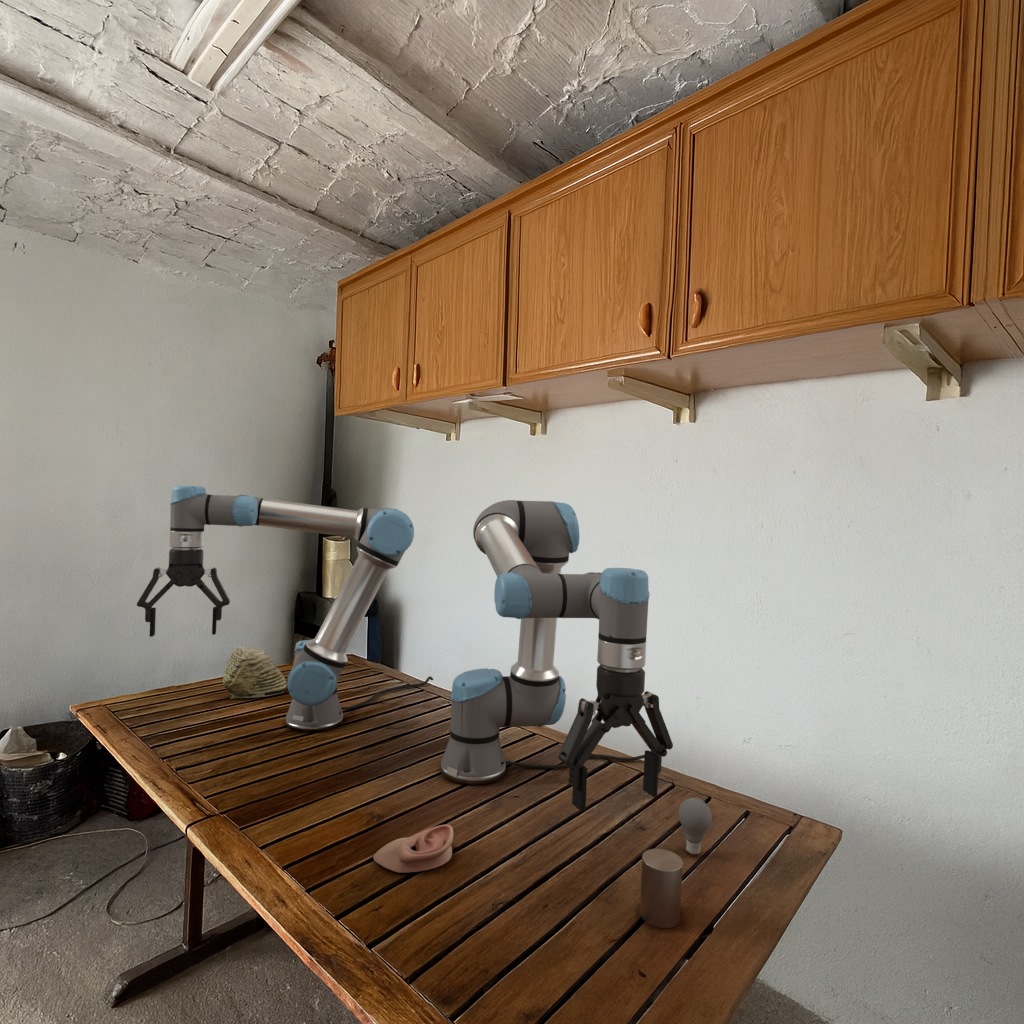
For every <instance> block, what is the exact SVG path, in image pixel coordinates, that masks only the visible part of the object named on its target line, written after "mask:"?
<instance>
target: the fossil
mask: <svg viewBox="0 0 1024 1024" xmlns="http://www.w3.org/2000/svg"><path fill="white" fill-rule="evenodd" d="M222 676H223V677H222V685H223V687H224V688H225V690H226V691H228V693H229V698H230V699H250V698H264V697H271V696H275V695H281V694H284V693H285V691H286V689H287V688H288V686H287V680H286V678H285V676H284V674H283V673H282V672H281V669H279V668H278V667H277V665H276V663H275V662H274V660H273V659H272V658H271V657H270V656H269V655H268V654H267V653H266V652H265V650H264V649H263V648H260V647H258V648H251V647H247V646H246V647H245V646H238V647H237V648H236V649H235V650H233V651H232V653H231V656H230V657H229V659H228V660H227V663H226V666H225V668H224V671H223V675H222Z"/></svg>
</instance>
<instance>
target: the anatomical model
mask: <svg viewBox="0 0 1024 1024" xmlns="http://www.w3.org/2000/svg"><path fill="white" fill-rule="evenodd" d="M454 834H455V833H454V829H453V826H452V825H450V824H441V825H437V826H433V827H430V828H427V829H425V830H422V831H420V832H418V833H416V834H414V835H411V836H409V837H399V838H397V839H393V840H392V841H390V842H388V843H387V844H385V845H383V846H382V847H381V848H379V850H377V851H376V852H375V853H374V855H373V856H372V857H373V861H374V862H375V863H377V864H378V865H380V866H381V867H383V868H384V869H386V870H389V871H392V872H395V873H398V874H399V873H401V874H405V873H406V874H407V873H408V874H409V873H417V872H423V871H429V870H432V869H436V868H439V867H441V866H443V865H444V864H447V863H448V862H449V861H450V860H451V859H452V855H453V846H452V844H453V842H454V836H455V835H454Z"/></svg>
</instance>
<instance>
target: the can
mask: <svg viewBox="0 0 1024 1024" xmlns="http://www.w3.org/2000/svg"><path fill="white" fill-rule="evenodd" d="M683 865H684V862H683V859H682V858H681V856H679V855H678V854H677V853H675V852H673V851H670V850H668V849H663V848H649V849H647V850H646V851H644V852H643V853H642V856H641V871H640V872H641V873H640V895H639V896H640V897H639V915H640V918H641V919H642V920H643V921H644V922H646V923H647V924H648V925H650V926H652V927H656V928H659V929H671V928H675V927H677V926H678V925H679V924H680V921H681V908H682V907H681V906H682V889H683V869H684V867H683Z"/></svg>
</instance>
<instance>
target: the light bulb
mask: <svg viewBox="0 0 1024 1024" xmlns="http://www.w3.org/2000/svg"><path fill="white" fill-rule="evenodd" d="M677 815H678V820H679V822H680V824H681V827H682V829H683V832H684V837H685V841H686V842H685V843H686V845H685V850H686V851H687V852H688V853H690V854H691V855H698V854H700V853H701V850H702V849H701V848H702V847H701V845H702V842H703V840H704V837H705V834H706V832H707V831H708V830H709V828H710V826H711V824H712V822H713V821H712V820H713V815H712V810H711V809H710V807H709V805H708V804H707V803H706V802H705V801H704V800H702V799H700V798H697V797H689V798H687V799H685V800H684V801H683V802H682V803H681V804H680V806H679V807H678V814H677Z"/></svg>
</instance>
